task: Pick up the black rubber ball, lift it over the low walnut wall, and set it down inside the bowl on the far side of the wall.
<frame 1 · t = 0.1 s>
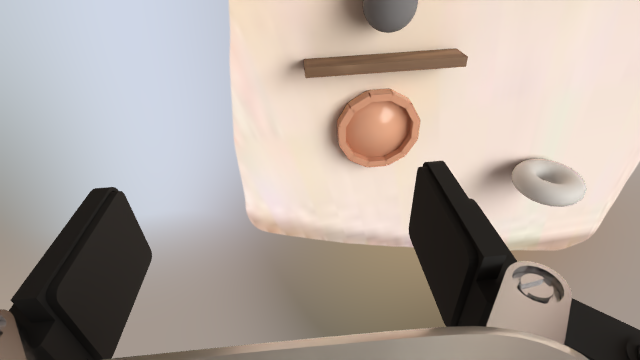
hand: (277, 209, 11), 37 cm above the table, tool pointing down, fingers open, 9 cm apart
wall: (380, 58, 46), on the table
bowl: (376, 127, 51), on the table
ball: (390, 3, 39), point 3 cm above the table
donut: (528, 163, 58), on the table
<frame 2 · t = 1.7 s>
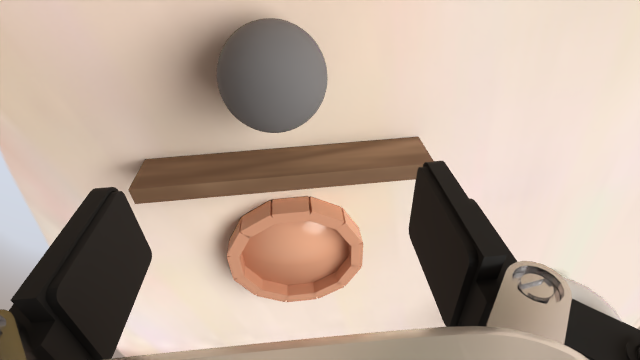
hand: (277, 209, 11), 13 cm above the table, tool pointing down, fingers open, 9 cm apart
wall: (285, 154, 26), on the table
bowl: (296, 246, 32), on the table
ball: (273, 78, 19), point 3 cm above the table
donut: (535, 277, 39), on the table
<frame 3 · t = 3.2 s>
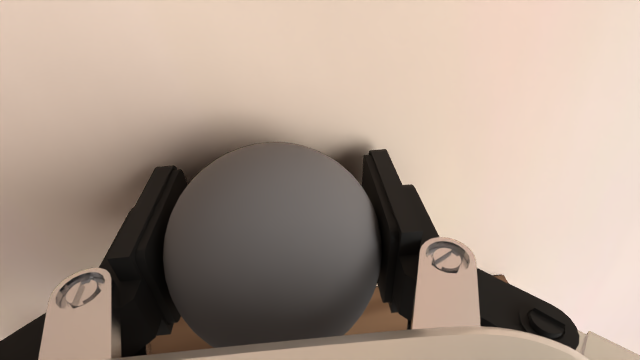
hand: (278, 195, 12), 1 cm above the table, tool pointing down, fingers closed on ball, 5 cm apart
wall: (294, 302, 17), on the table
ball: (276, 246, 10), point 3 cm above the table, touching gripper
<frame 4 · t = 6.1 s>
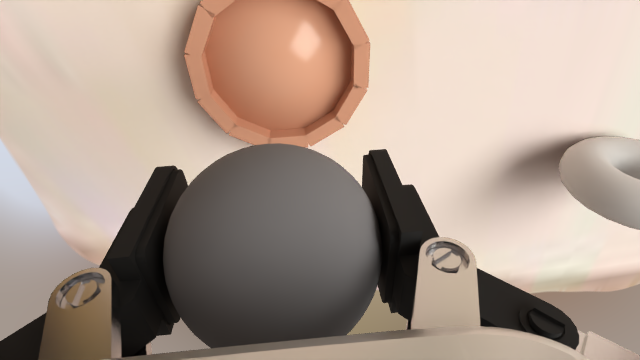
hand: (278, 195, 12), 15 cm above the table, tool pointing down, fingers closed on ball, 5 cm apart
bowl: (280, 63, 24), on the table
ball: (276, 247, 10), point 17 cm above the table, touching gripper
donut: (587, 145, 31), on the table
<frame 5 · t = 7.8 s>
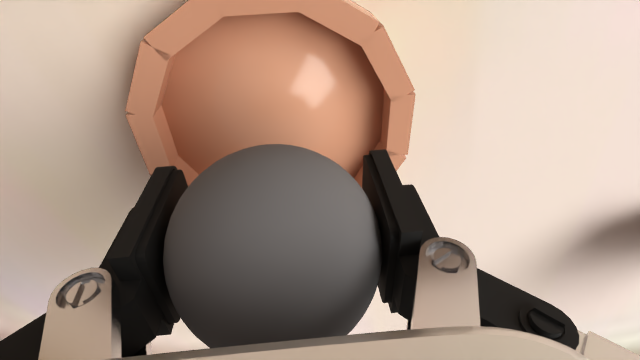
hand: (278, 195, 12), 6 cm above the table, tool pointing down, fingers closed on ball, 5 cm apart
bowl: (277, 117, 16), on the table
ball: (276, 248, 10), point 8 cm above the table, touching gripper
when the fingers open (3 cm above the table, at t = 9.3 s): ball drops 2 cm, resting on bowl.
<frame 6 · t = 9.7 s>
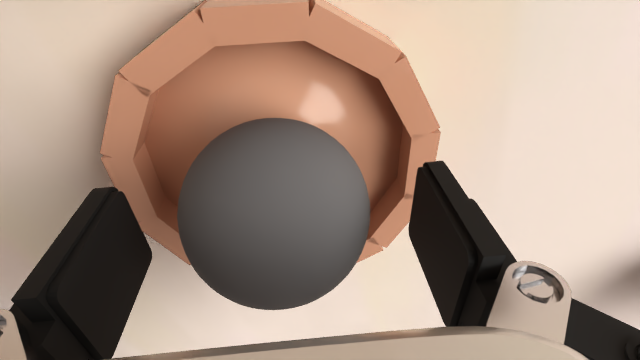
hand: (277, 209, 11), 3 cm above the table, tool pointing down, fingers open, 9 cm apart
bowl: (279, 153, 14), on the table
ball: (277, 211, 11), point 4 cm above the table, touching bowl
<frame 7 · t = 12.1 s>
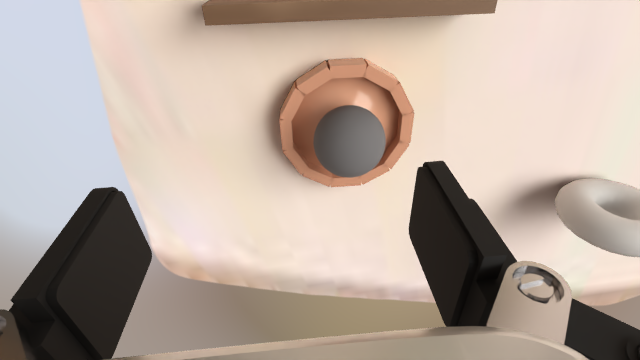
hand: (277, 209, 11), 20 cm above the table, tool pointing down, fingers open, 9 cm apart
wall: (346, 2, 27), on the table
bowl: (344, 123, 32), on the table
ball: (349, 141, 29), point 4 cm above the table, touching bowl
donut: (577, 184, 39), on the table
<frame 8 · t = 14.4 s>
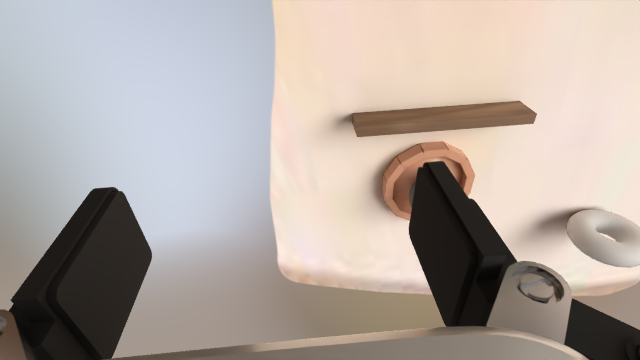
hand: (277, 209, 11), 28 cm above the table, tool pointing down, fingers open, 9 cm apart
wall: (436, 111, 41), on the table
bowl: (424, 179, 47), on the table
donut: (582, 212, 54), on the table
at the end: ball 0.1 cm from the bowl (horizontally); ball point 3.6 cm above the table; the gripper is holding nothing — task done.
